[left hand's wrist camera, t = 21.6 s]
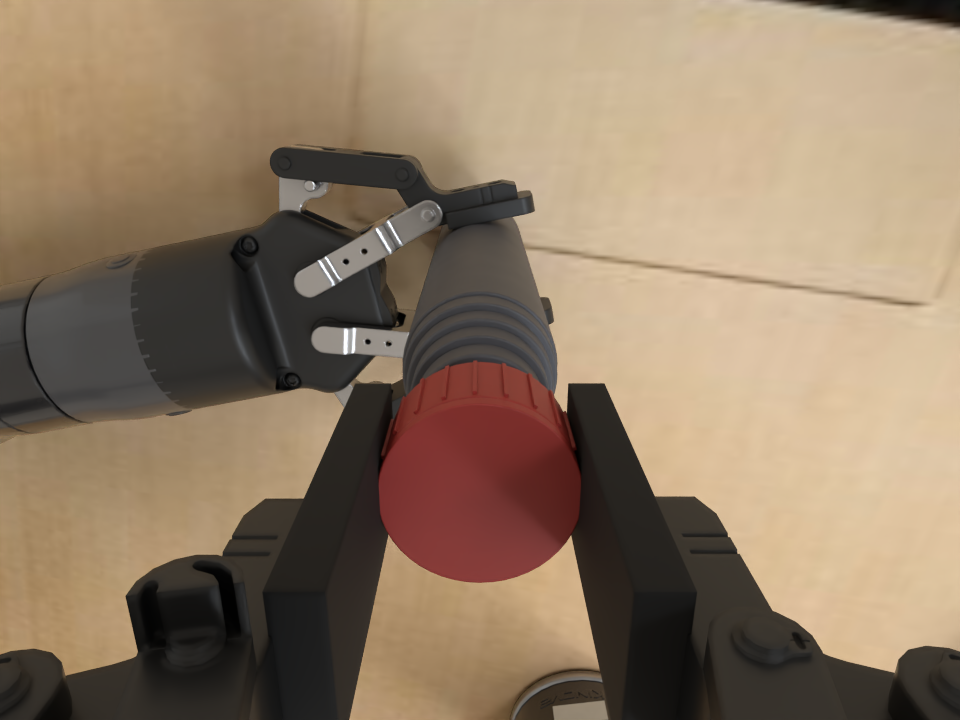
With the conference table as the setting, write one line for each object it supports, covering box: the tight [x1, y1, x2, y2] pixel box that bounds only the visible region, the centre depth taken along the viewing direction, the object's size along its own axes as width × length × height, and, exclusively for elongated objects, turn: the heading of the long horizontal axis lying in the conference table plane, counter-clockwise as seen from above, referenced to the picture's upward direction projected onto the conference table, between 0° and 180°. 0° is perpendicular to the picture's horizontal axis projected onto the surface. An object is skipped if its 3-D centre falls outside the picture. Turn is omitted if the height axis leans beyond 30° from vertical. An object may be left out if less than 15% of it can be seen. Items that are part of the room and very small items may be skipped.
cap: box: [378, 360, 581, 583], centre depth 14 cm, size 4×4×2 cm
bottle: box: [403, 217, 557, 396], centre depth 25 cm, size 4×4×24 cm
